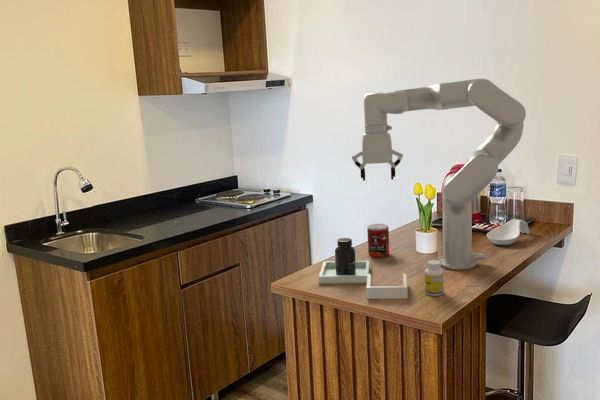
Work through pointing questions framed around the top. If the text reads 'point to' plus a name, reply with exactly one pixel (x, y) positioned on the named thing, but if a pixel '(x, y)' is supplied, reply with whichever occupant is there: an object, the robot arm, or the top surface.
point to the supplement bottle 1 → (345, 257)
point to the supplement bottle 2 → (434, 278)
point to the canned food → (378, 240)
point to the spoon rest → (508, 232)
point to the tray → (331, 277)
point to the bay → (387, 290)
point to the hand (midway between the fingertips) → (378, 179)
